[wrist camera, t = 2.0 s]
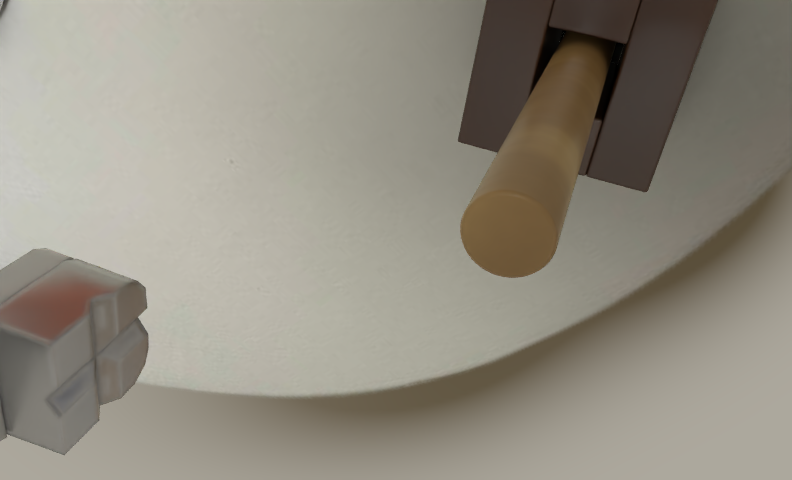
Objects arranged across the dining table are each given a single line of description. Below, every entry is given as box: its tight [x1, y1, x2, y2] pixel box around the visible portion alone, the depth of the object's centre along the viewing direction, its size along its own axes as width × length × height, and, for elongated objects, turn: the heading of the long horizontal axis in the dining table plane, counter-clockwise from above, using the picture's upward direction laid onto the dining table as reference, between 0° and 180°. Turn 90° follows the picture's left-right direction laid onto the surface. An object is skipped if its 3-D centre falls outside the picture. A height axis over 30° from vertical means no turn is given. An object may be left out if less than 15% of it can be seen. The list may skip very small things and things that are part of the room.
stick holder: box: [458, 0, 718, 192], centre depth 25 cm, size 6×6×7 cm
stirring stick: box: [460, 31, 616, 278], centre depth 21 cm, size 2×2×18 cm
